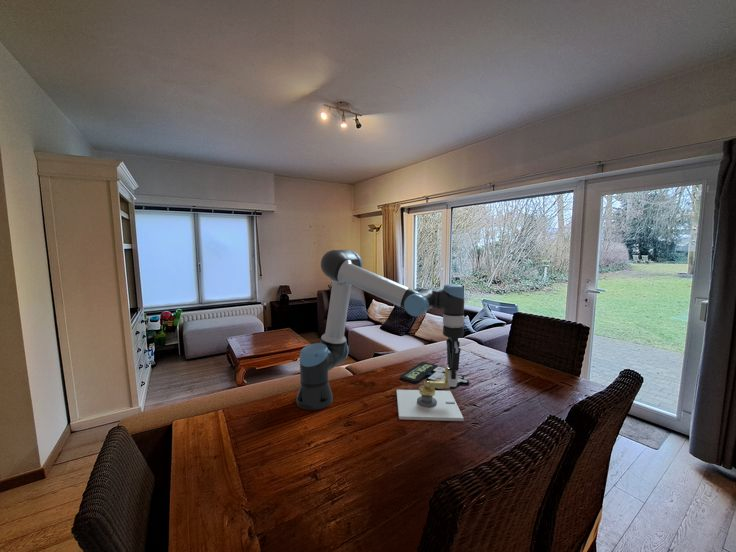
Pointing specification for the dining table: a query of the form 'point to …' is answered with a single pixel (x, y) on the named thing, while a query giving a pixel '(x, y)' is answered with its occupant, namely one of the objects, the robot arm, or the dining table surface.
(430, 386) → the brass lever knob
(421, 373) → the sign
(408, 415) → the post board
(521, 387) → the dining table surface
